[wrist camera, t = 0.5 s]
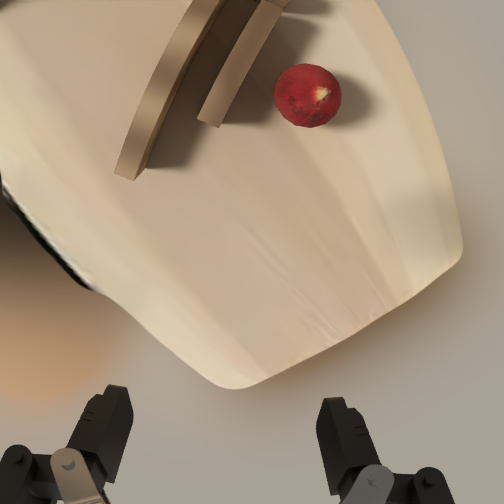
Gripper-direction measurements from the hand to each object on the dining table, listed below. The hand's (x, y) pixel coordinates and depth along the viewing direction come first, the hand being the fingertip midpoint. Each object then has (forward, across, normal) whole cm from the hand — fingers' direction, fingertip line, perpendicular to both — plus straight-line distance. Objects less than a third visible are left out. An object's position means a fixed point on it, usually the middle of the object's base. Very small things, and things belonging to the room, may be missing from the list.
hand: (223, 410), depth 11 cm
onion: (+22, -5, -16) cm, 28 cm away
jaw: (+20, +7, -17) cm, 27 cm away
